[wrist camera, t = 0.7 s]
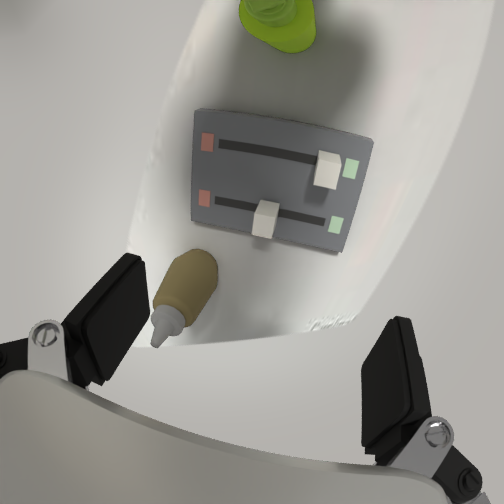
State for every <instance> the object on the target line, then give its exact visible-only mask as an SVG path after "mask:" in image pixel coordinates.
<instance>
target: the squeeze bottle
mask: <svg viewBox="0 0 504 504" xmlns="http://www.w3.org/2000/svg"><path fill="white" fill-rule="evenodd" d="M217 281H218V276H217V263H216V260H215V259H214V258H213V256H212V255H211V254H209V253H208V252H206V251H204V250H201V249H192V250H190V251H188V252H186V253H184V254H183V255H181V256H179V257H177V258H175V259H174V261H173V262H172V264H171V265H170V267H169V269H168V271H167V273H166V275H165V277H164V279H163V281H162V283H161V285H160V287H159V289H158V291H157V293H156V295H155V297H154V299H153V308H154V312H153V314H152V315H151V322H152V324H153V326H154V327H155V328H154V332H153V336H152V339H151V345H152V346H153V347H155V348H158V347H159V346H160V345H161V344H162V343H163V342H164V341H165V340H166V339H167V338H168V336H177V335H179V334H180V333H181V332H182V330H183V328H184V327H188V326H191V325H192V324H193V322H194V321H195V320H196V318H197V317H198V315H199V313H200V312H201V310H202V309H203V307H204V306H205V304H206V303H207V301H208V300H209V298H210V297H211V295H212V293H213V292H214V290H215V289H216V286H217Z"/></svg>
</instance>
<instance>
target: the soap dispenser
mask: <svg viewBox="0 0 504 504" xmlns="http://www.w3.org/2000/svg"><path fill="white" fill-rule="evenodd" d="M239 17H240V20H241V23H242V24H243V26H244V27H245V29H246V30H247V31H248V32H249V33H250V34H252V35H253V36H255V37H257V38H258V39H260V40H262V41H264V42H266V43H267V44H269V45H271V46H273V47H275V48H276V49H278V50H280V51H282V52H286V53H298V52H302V51H304V50H306V49H307V48H309V47H310V46H311V45H312V43H313V42H314V40H315V37H316V25H315V15H314V7H313V3H312V0H241V2H240V5H239Z"/></svg>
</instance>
